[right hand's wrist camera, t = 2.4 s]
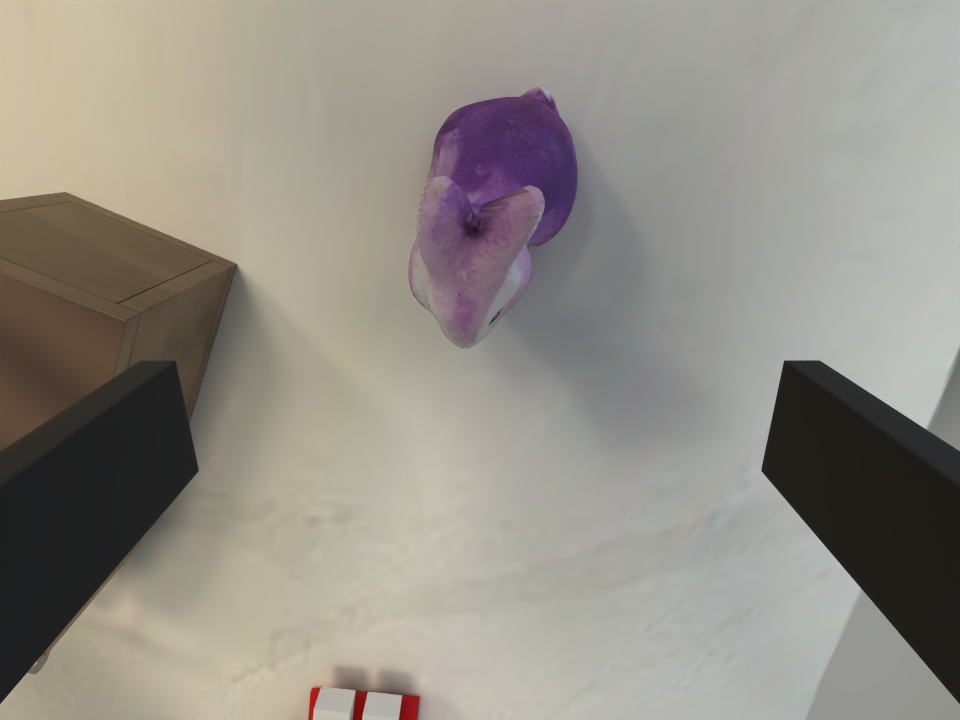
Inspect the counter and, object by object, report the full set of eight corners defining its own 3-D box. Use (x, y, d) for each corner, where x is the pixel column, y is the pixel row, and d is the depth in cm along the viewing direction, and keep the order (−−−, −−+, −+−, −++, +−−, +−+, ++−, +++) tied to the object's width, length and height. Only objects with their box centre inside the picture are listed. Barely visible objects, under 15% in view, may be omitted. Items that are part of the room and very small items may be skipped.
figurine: (447, 302, 36) (426, 405, 22) (388, 137, 32) (318, 134, 18) (592, 256, 35) (667, 334, 21) (547, 80, 31) (602, 32, 17)
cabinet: (163, 510, 42) (50, 642, 31) (17, 459, 40) (-157, 579, 29) (236, 264, 35) (126, 320, 24) (64, 191, 34) (-137, 217, 23)
